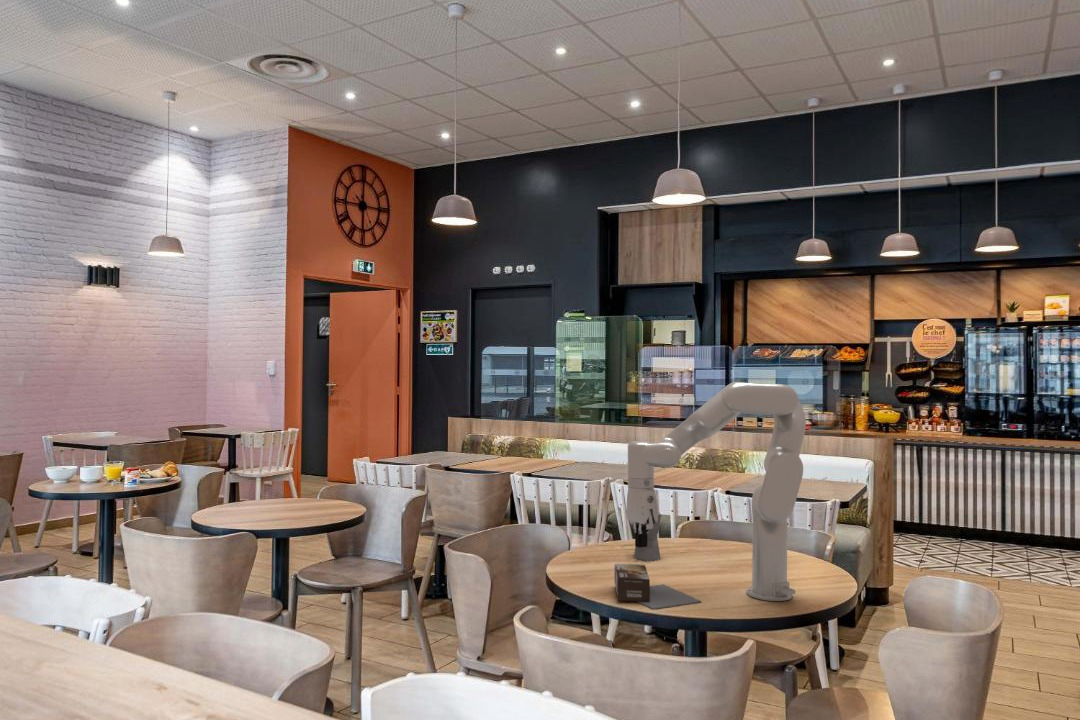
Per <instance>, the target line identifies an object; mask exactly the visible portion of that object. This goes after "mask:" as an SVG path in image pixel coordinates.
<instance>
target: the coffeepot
mask: <svg viewBox="0 0 1080 720" xmlns="http://www.w3.org/2000/svg"><path fill="white" fill-rule="evenodd" d="M661 517H662V513H660V512H659V511H658V522H657V523H653V529H649V532H648V533H647V547H641V548H638V547H636V546H635V545H634V552H633V558H634V559H635V560H638V561H641V562H642V561H644V562H654V561H655V560H656V561H659V560H660V559H661V553H660V547H659V540H658V534H659V530H660V524H661V519H662V518H661ZM658 559H659V560H658ZM656 561H655V562H656Z"/></svg>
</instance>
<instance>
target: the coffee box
mask: <svg viewBox="0 0 1080 720" xmlns="http://www.w3.org/2000/svg"><path fill="white" fill-rule="evenodd" d="M613 571H614V573H613V574H614V585H615V591H616V592H615V593H616V599H617V601H623V602H625V601H626V602H636V601H645V602H650V586H651V585H650V584H651V582H650V580H651V579H650V577H649V573H648V570H647V567H646V565H645V564H642V563H641V564H640V563H637V564H636V563H614V570H613Z"/></svg>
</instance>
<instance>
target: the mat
mask: <svg viewBox="0 0 1080 720" xmlns="http://www.w3.org/2000/svg"><path fill="white" fill-rule="evenodd" d="M635 602H636V603H639V604H641V605H642V604H643V605H642V606H644V605H645V607H646V606H647V608H648V607H649V608H648V609H650V608H651V609H650V610H652V609H656V610H661V608H662V609H667V608H673V607H674V606H675V607H680V606H681V605H682V606H688V605H695V604H700V603H702V602H703V601H702V600H700V599H698V598H696V597H694V596H691V595H689V594H687V593H684V592H682V591H680V590H677V589H675V588H674V587H673V588H672V587H670V586H668V585H666V584H663V583H662V584H654V585H650V602H645V601H635ZM682 606H681V607H682Z"/></svg>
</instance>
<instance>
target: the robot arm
mask: <svg viewBox="0 0 1080 720" xmlns="http://www.w3.org/2000/svg"><path fill="white" fill-rule="evenodd" d="M740 414H749V415H751V414H752V415H767V416H773V421H774V423H773V429H772V432H771V433H772V434H771V438H770V442H769V445H768V448H767V452H766V454H765V457H764V460H763V468H764V471H765V475H764V477H763V482H762V484H760V485H758V486H757V487H756V488H755V489H754V491H753V493H752V495H751V496H752V498H751V517H752V552H751V553H752V558H751V559H752V563H751V567H752V568H751V569H752V571H751V577H752V578H751V579H752V580H751V582H752V583H751V584H752V585H750V586H748V587H747V588H746V594H747V596H749V597H752V598H753V599H757V600H762V601H767V602H769V601H770V602H784V601H789V600H791V599H793V597H794V596H793V595H795V594H796V590H795V589H794V588H790V582H789V581H788V537H789V535H788V518H790V517H791V515H792V513H793V511H794V507H795V506H796V502H797V497H798V494H799V490H800V487H801V484H802V479H803V476H804V463H803V461H802V459H801V457H800V455H801V451H802V447H803V442H804V438H805V432H806V425H807V423H806V422H807V421H806V415H805V411H804V409H803V406H802V404H801V402H800V400H799V396H798V393H797V391H796V390H795V389H794V388H793V387H791V386H790V385H786V384H782V383H774V384H773V383H771V384H768V383H750V382H741V381H734V382H731V383H729V384H727V385H726V386H724V387H723V388H722V389H721V390H720V391H718V392H717V393H715V395H714V396H712V397H711V398H710V399H709V400H707V401H706V402H705V403H703V405H702V406H700V407H699V408H697V410H695V411H694V412H693V413H692V414H690V415H689V416H688V417H687V418H686V419H685V420H683V421H682V422H681V423H680V424H679V425H678V426H676V427H675V428H673V429H672V430H671V431H670V432H668V433H667V434H666V435H665V436H664V437H662V438H661V439H660V440H659V441H658V442H651V441H648V440H633V441H630V442H629V443H628V444H627V495H626V518H627V519H628V520H629V523H630V525H632V527H633V533H634V547H635V546H636V547H638V548H641V547H647V533H648V532H649V529H653V523H657V522H658V512H659V511H658V501H657V494H656V489H655V478H654V477H655V476H654V475H655V473H654V472H655V468H654V467H658V468H664V469H665V468H666V469H669V468H673V467H675V466H676V465H677V464H678V463H679V462H680V460H681V457H682V456H683V455H684V454H686V452H688V451H689V450H690V449H692V448H693V447H694V446H695V445H698V443H699V442H702V441H704V440H706V439H710V437H712V436H714V435H715V434H717V433H718V432H719V431H720V430H722V429H723V428H724V427H725V426H727V425H728V424H729V423H730V422H732V421H733V420H734V419H736V418H737V417H738V416H739V415H740Z"/></svg>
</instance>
